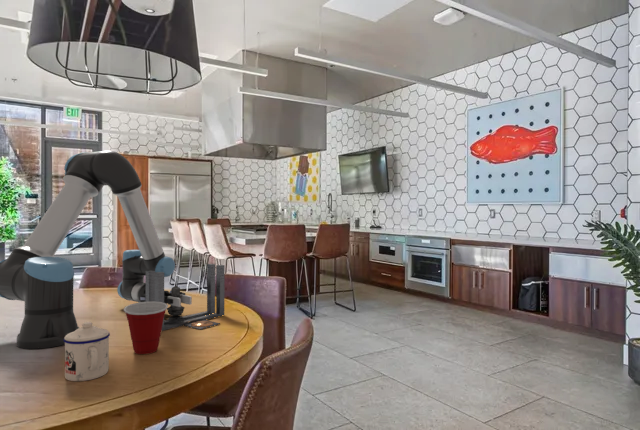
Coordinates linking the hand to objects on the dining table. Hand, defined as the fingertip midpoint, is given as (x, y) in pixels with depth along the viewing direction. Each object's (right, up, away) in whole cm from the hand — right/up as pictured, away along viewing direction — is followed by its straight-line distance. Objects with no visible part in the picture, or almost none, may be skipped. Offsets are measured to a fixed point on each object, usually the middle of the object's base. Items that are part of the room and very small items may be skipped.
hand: (185, 301), depth 142 cm
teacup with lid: (-6, -7, -48) cm, 49 cm away
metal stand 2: (+3, -7, -2) cm, 8 cm away
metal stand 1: (-1, -7, +1) cm, 7 cm away
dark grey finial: (-4, -7, +3) cm, 9 cm away
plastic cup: (0, -7, -31) cm, 32 cm away
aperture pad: (+7, -7, -5) cm, 11 cm away
